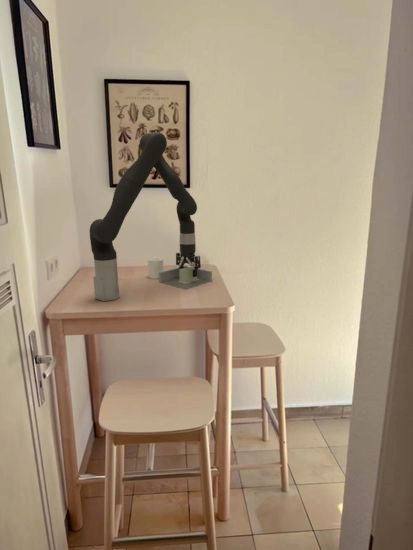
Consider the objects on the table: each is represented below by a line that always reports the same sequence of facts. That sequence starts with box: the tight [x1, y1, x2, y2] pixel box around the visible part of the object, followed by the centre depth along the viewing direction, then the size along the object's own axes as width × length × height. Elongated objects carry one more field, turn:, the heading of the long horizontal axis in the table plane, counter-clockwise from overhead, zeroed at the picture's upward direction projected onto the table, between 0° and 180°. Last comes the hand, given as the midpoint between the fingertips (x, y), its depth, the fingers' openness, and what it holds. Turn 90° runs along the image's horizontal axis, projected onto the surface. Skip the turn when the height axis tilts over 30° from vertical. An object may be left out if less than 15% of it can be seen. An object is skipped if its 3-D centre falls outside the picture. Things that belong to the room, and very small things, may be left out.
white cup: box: [147, 257, 164, 280], centre depth 190 cm, size 8×8×10 cm
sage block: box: [179, 265, 197, 283], centre depth 183 cm, size 4×8×6 cm, turn 138°
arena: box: [158, 265, 213, 291], centre depth 181 cm, size 18×18×6 cm
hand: (188, 275), depth 183 cm, fingers open, 8 cm apart
